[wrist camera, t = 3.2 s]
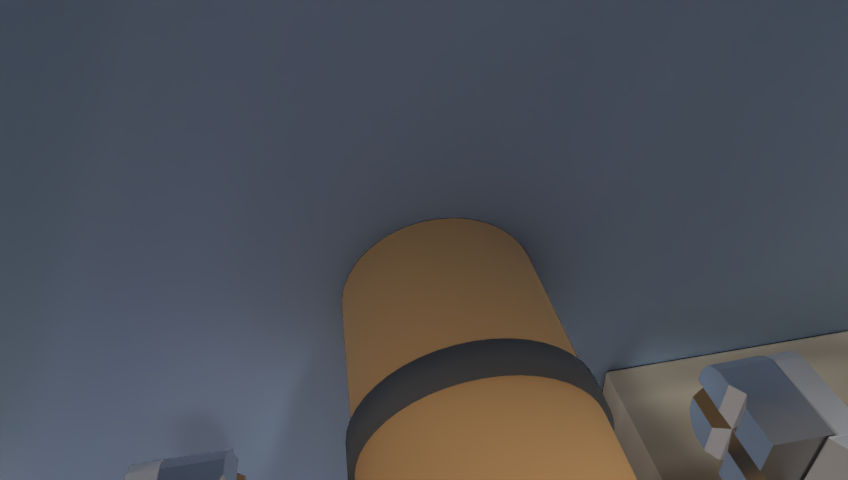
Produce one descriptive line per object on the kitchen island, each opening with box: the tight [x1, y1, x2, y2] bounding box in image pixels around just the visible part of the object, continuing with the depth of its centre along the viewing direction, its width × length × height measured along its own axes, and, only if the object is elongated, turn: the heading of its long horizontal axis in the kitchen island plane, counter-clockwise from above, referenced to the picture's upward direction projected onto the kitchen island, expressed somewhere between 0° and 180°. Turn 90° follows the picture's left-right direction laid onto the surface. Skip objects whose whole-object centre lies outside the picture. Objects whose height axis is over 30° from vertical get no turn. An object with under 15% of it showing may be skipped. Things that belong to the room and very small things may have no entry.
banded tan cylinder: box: [342, 218, 637, 480], centre depth 9 cm, size 4×4×7 cm
